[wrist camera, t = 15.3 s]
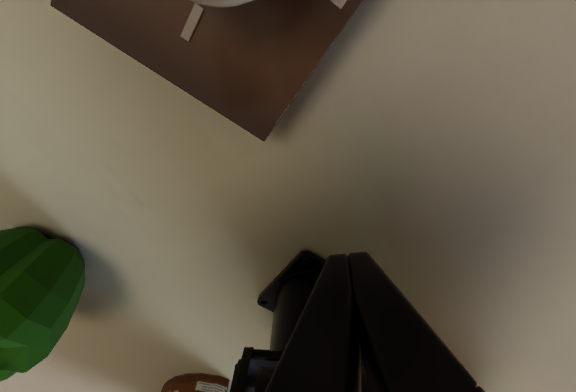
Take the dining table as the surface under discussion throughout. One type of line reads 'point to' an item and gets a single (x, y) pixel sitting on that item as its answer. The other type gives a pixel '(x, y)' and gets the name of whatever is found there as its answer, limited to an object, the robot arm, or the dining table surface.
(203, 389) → the food container
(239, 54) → the dial panel
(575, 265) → the dining table surface
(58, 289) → the bell pepper
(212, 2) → the dial
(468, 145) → the dining table surface
